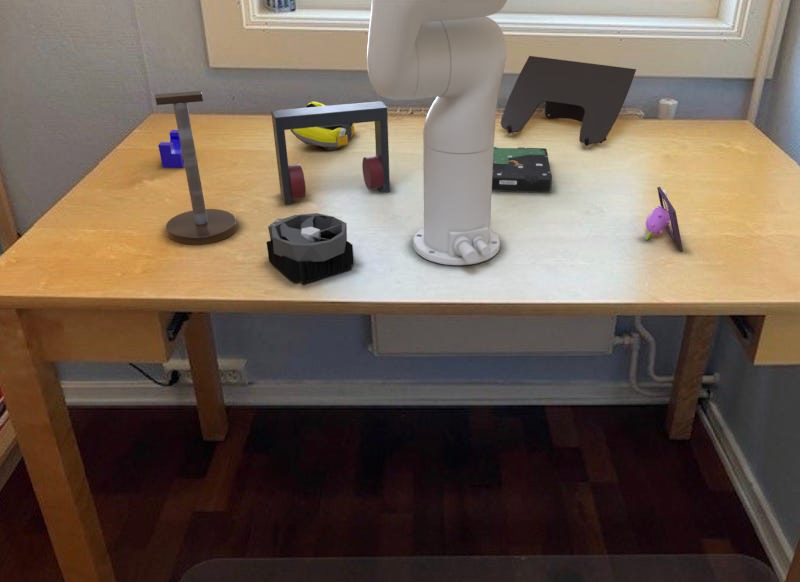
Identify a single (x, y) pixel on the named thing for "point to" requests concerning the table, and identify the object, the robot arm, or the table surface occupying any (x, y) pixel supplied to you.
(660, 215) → the purple piece
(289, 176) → the headset
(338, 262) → the cpu cooler
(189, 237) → the stand
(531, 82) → the laptop tray
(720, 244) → the table surface
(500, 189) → the disk drive
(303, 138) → the gaming controller
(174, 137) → the cable holder
